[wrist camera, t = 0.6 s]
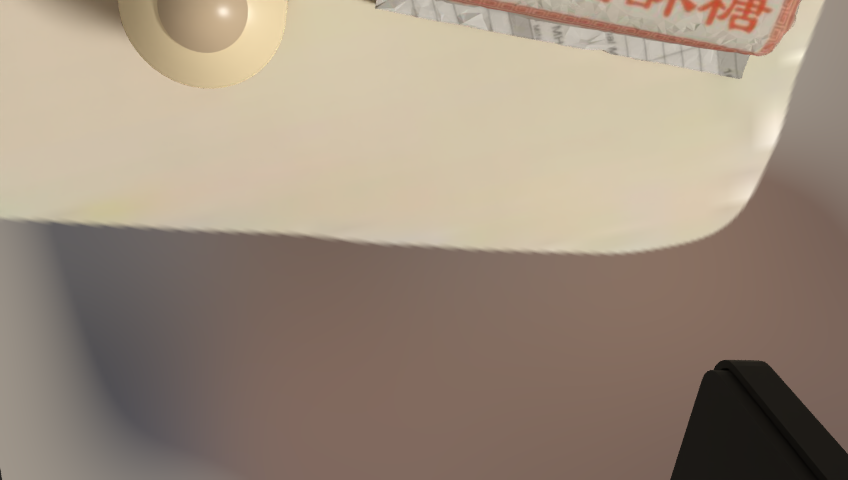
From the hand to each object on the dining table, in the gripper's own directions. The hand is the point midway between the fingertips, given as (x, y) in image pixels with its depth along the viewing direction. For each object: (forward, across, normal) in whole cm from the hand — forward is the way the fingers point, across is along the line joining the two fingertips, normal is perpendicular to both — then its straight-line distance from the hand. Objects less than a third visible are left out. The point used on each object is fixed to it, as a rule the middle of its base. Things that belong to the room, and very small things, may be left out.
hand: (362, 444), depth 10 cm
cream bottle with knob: (+28, +4, -1) cm, 28 cm away
